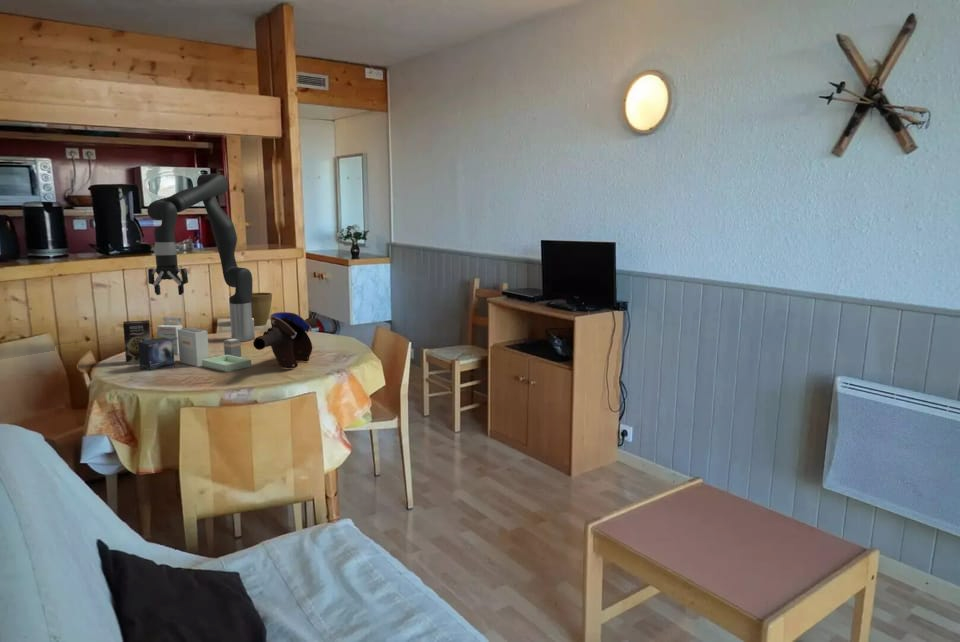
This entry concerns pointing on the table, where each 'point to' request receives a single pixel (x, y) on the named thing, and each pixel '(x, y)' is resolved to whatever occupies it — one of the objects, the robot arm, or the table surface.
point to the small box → (156, 353)
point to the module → (232, 347)
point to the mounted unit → (193, 346)
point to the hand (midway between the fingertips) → (169, 294)
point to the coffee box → (135, 339)
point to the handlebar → (288, 338)
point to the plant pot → (260, 307)
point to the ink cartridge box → (170, 331)
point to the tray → (226, 363)
